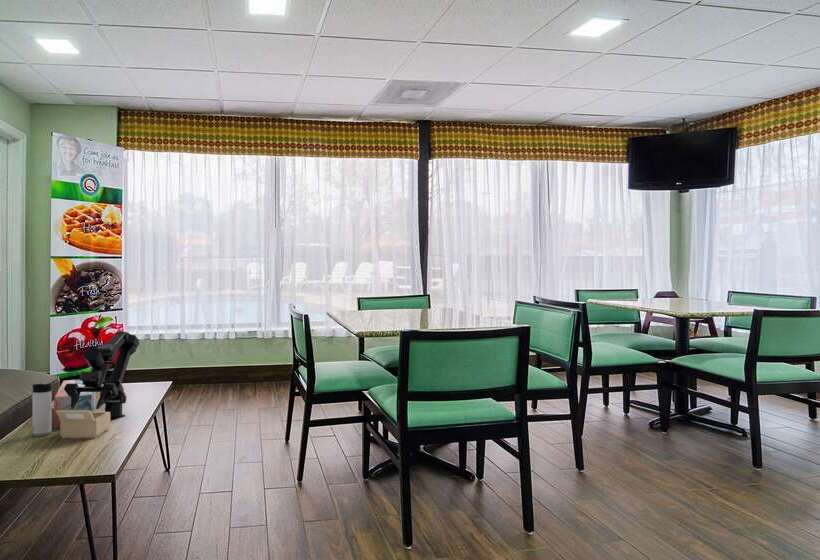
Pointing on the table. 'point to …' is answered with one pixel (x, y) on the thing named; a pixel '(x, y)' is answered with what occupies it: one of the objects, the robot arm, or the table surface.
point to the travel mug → (42, 410)
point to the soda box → (64, 401)
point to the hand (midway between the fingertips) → (84, 408)
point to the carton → (86, 426)
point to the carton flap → (75, 415)
